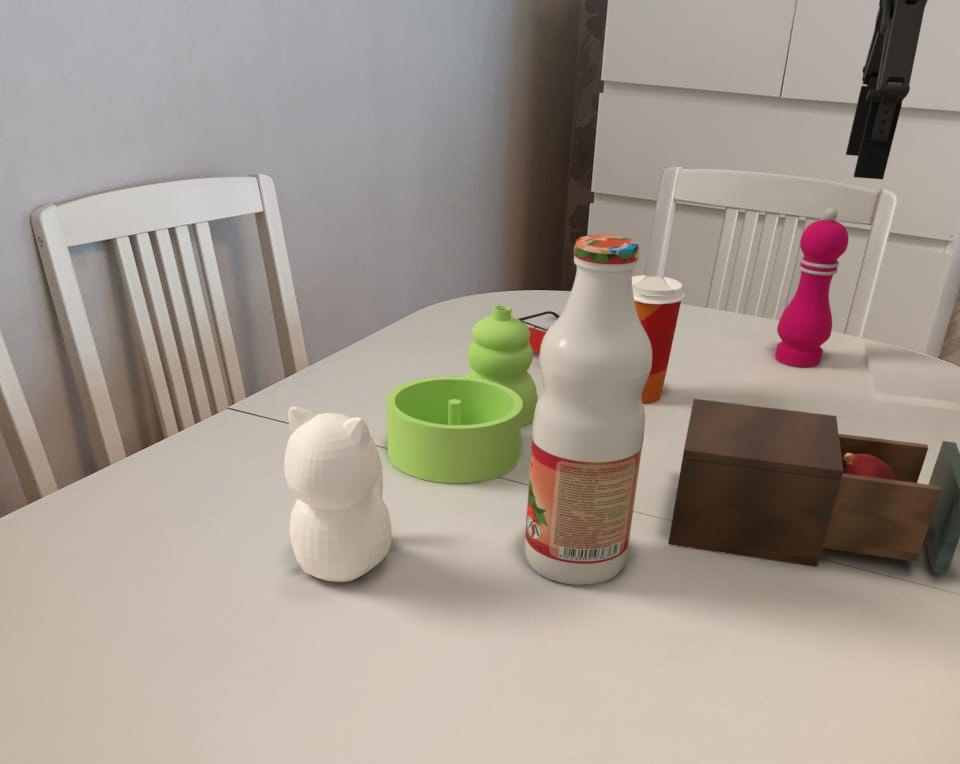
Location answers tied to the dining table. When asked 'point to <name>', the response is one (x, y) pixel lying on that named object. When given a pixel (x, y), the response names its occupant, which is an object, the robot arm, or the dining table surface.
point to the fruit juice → (589, 421)
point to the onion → (866, 466)
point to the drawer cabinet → (757, 482)
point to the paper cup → (657, 325)
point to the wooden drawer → (898, 504)
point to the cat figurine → (335, 496)
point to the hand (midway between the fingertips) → (863, 166)
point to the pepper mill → (812, 294)
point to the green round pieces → (467, 409)
